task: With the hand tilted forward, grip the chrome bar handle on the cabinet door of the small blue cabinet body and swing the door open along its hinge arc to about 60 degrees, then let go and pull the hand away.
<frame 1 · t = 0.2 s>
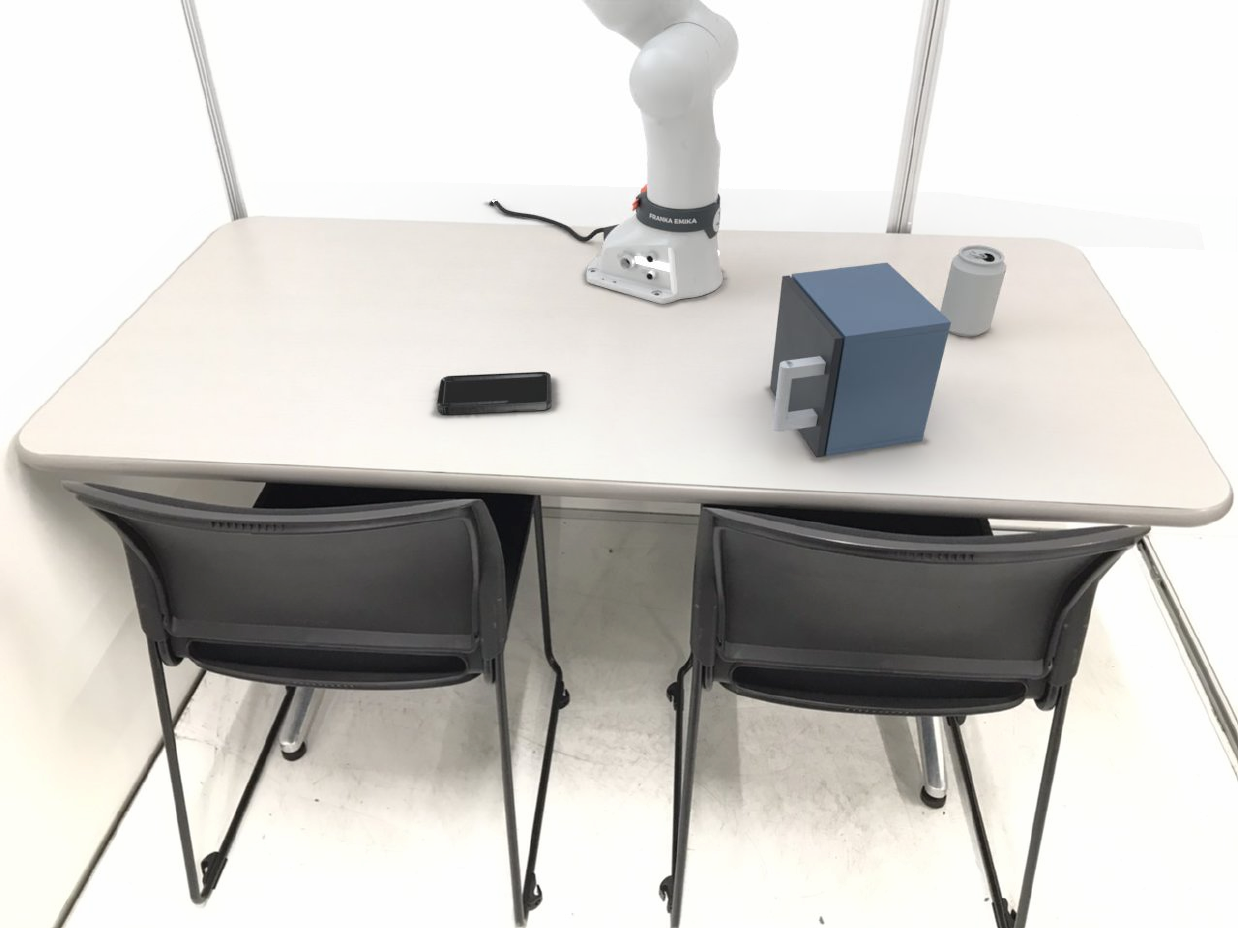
can: (962, 328, 137), on the table
blue cabinet body: (847, 413, 119), on the table
cabinet door: (782, 368, 112), point 9 cm above the table, hinge at 0.0°
phone: (495, 397, 123), on the table
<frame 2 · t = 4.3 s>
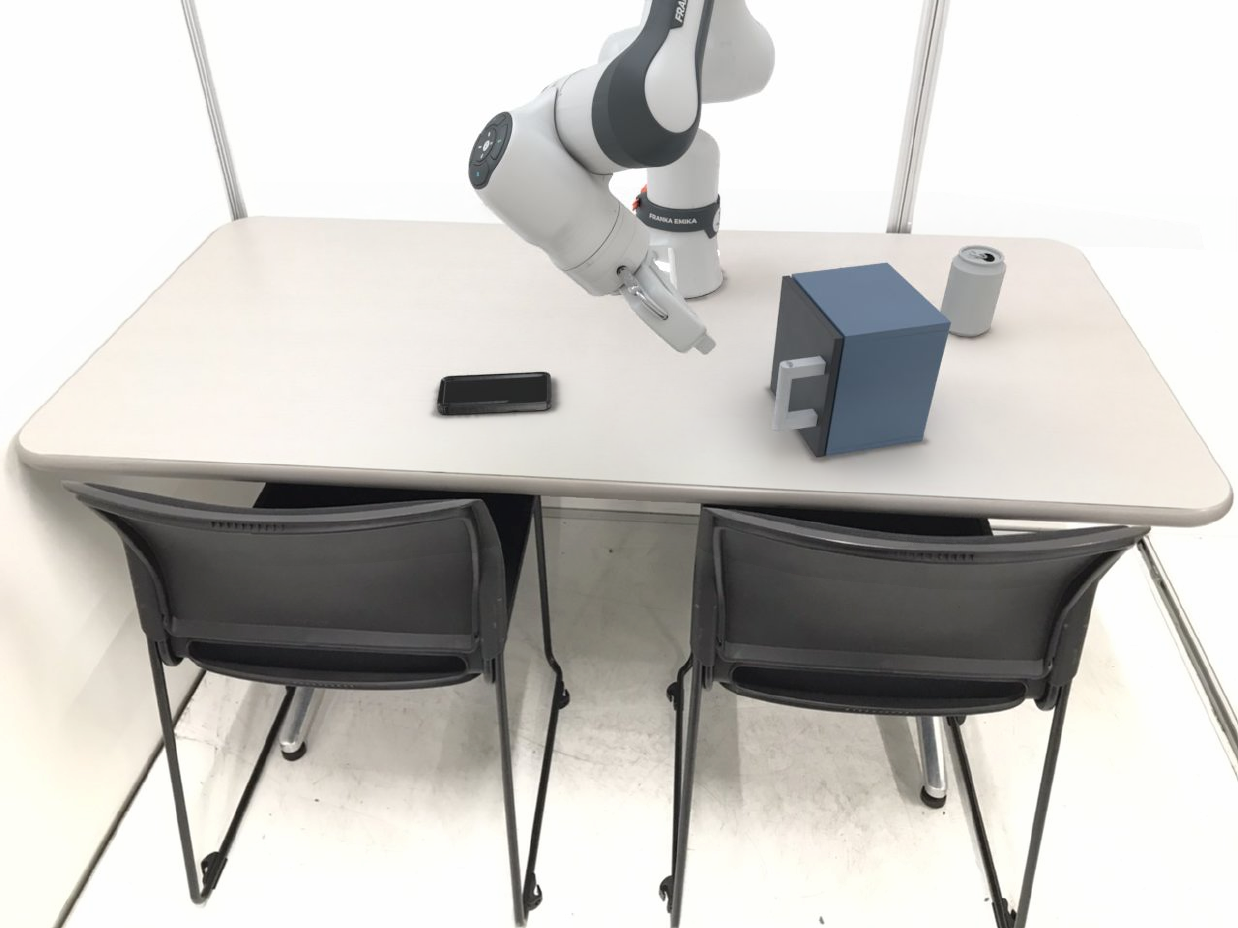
hand: (693, 326, 98), 19 cm above the table, tool tilted 45°, fingers open, 8 cm apart
nothing on the table moved.
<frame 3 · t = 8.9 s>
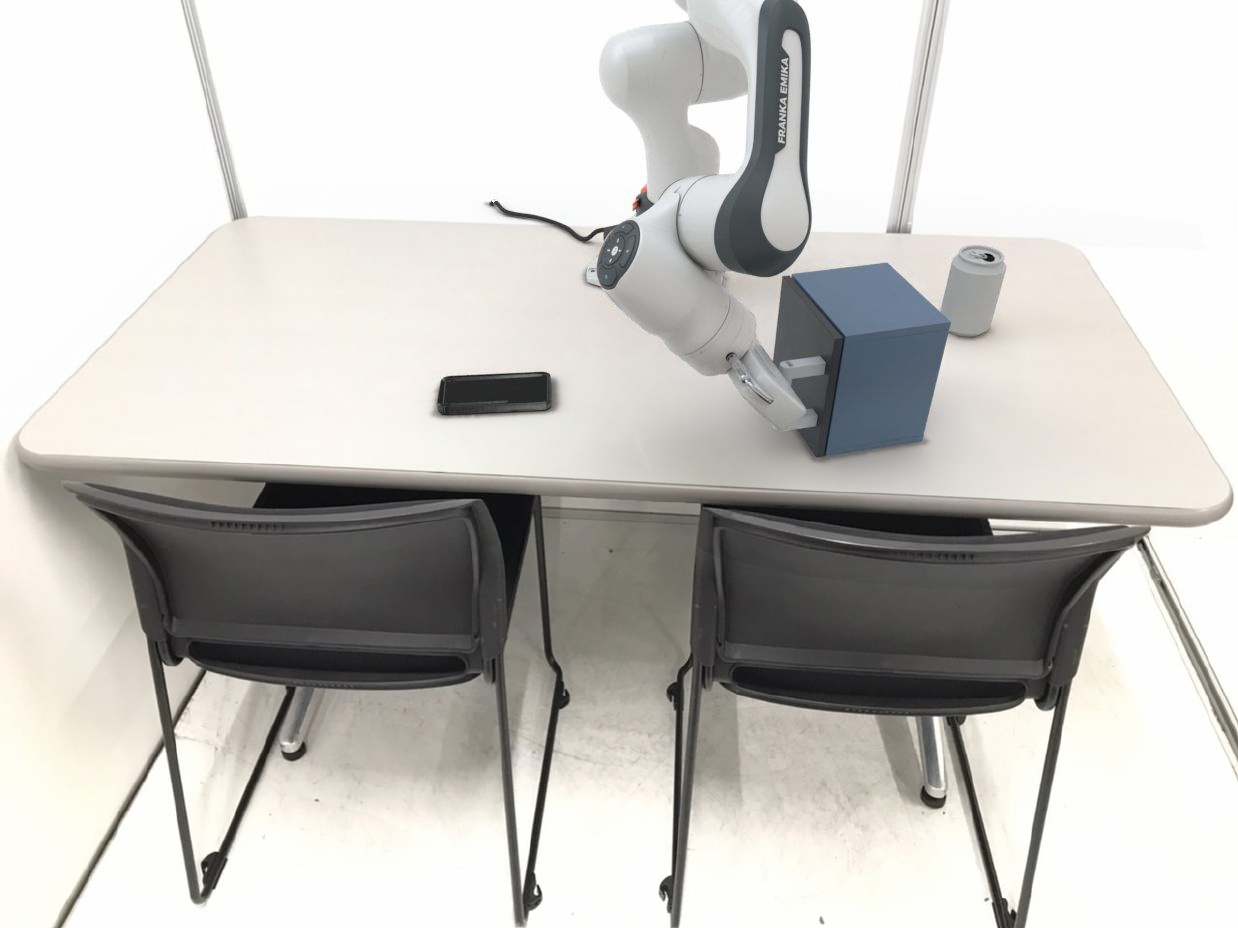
hand: (789, 396, 107), 8 cm above the table, tool tilted 45°, fingers closed on cabinet door, 2 cm apart
cabinet door: (782, 368, 112), point 9 cm above the table, hinge at 0.0°, touching gripper
everything else where it was.
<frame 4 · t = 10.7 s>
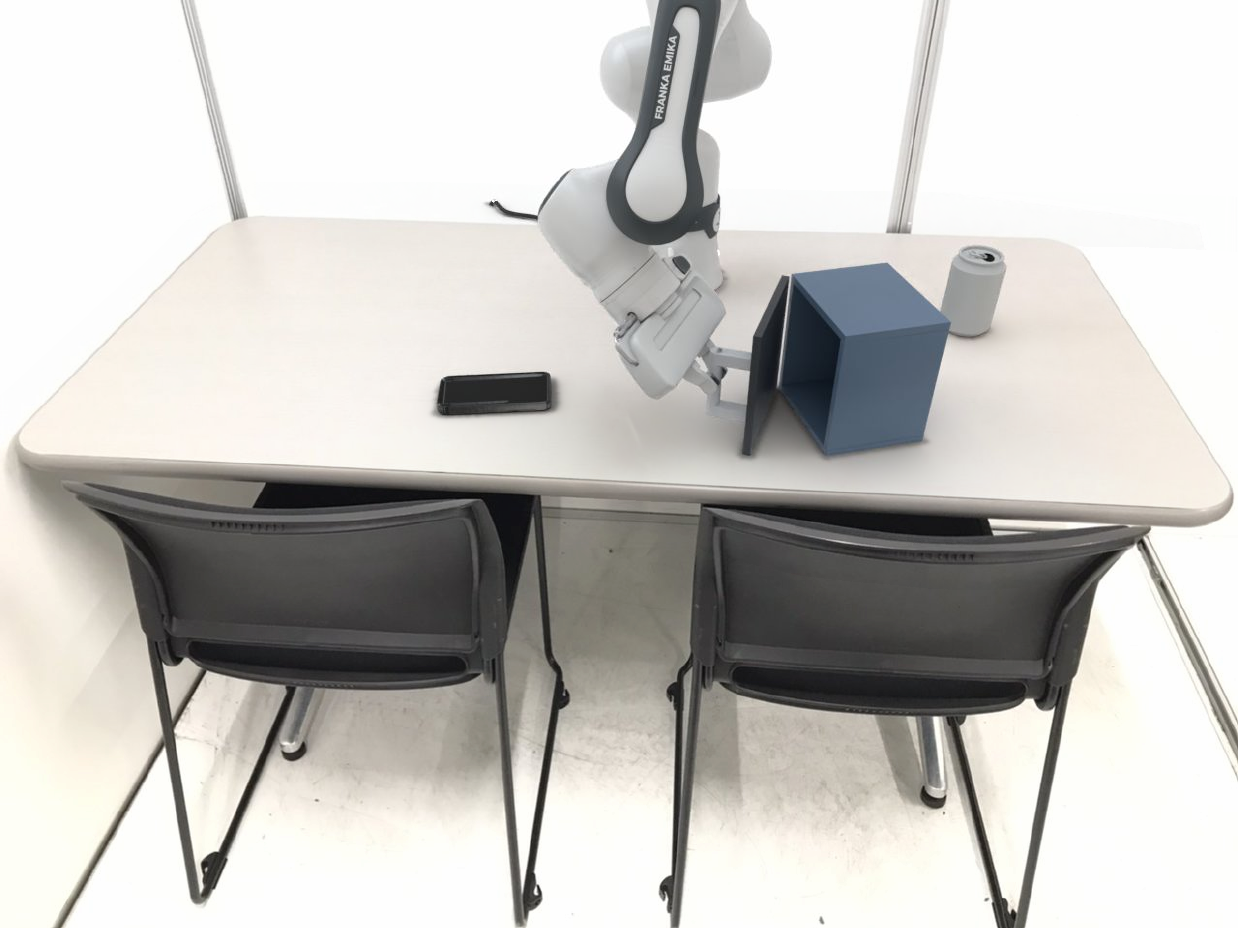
hand: (718, 383, 110), 8 cm above the table, tool tilted 45°, fingers closed on cabinet door, 2 cm apart
cabinet door: (745, 361, 114), point 9 cm above the table, hinge at 33.0°, touching gripper
everything else where it was.
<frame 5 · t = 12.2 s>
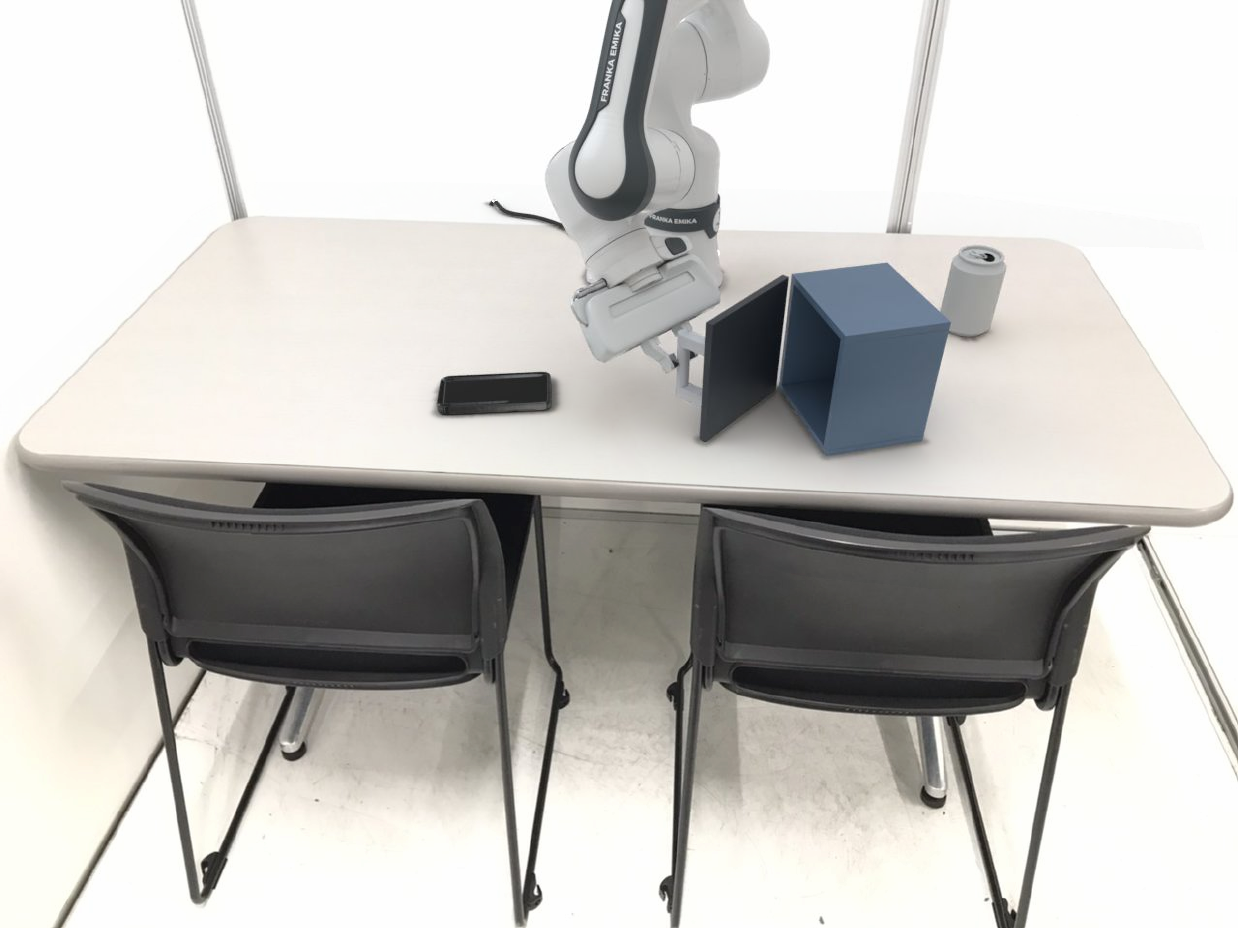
hand: (682, 364, 114), 8 cm above the table, tool tilted 45°, fingers closed
cabinet door: (726, 351, 115), point 9 cm above the table, hinge at 54.5°
everything else where it was.
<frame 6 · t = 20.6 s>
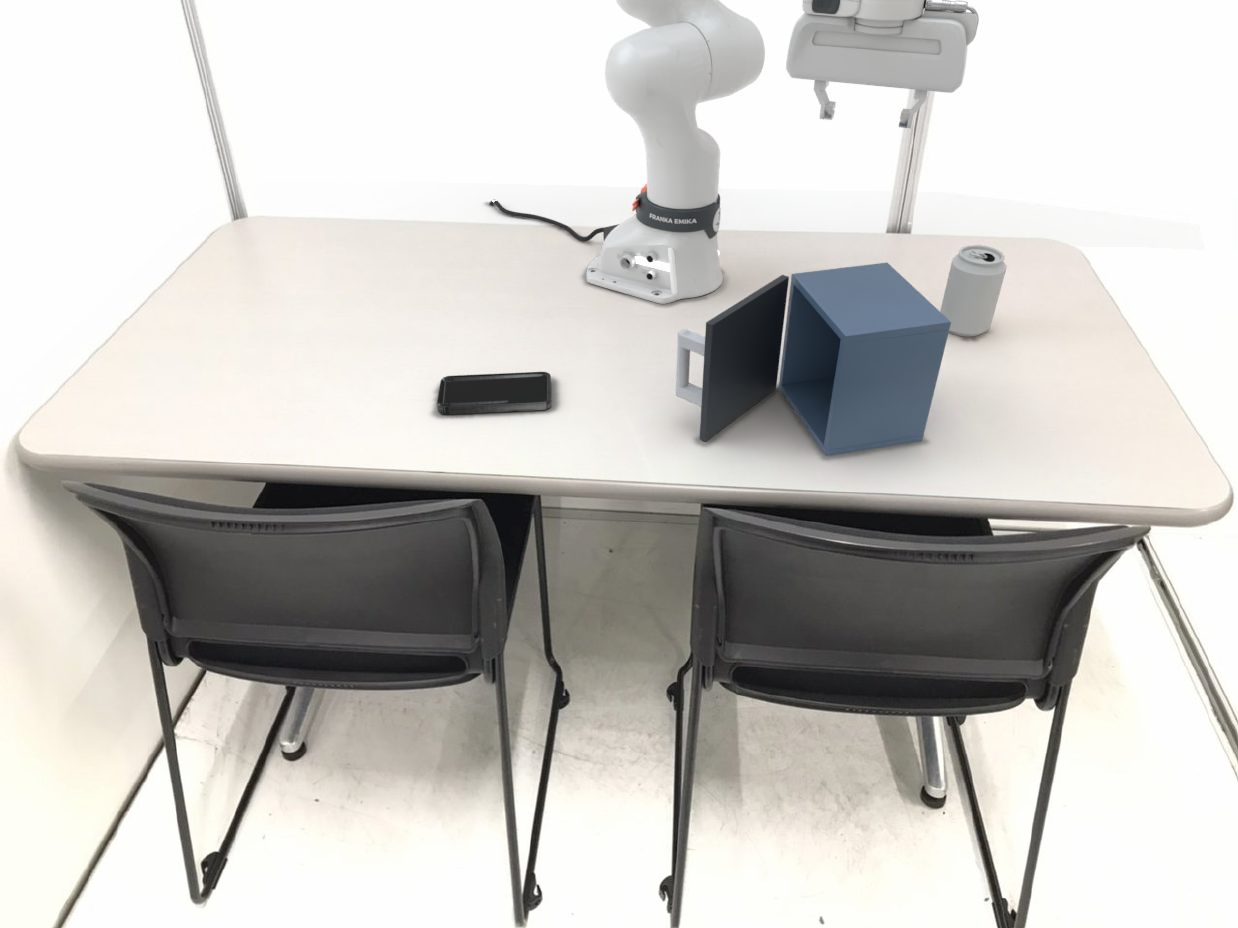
hand: (865, 122, 110), 33 cm above the table, tool pointing down, fingers open, 8 cm apart
nothing on the table moved.
at the end: cabinet door at +54° (first picture: +0°); the gripper is holding nothing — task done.
